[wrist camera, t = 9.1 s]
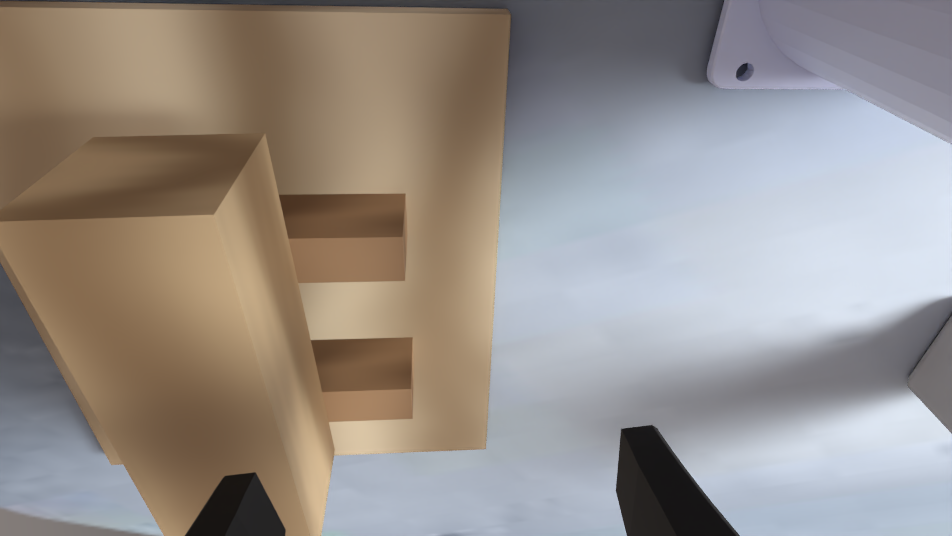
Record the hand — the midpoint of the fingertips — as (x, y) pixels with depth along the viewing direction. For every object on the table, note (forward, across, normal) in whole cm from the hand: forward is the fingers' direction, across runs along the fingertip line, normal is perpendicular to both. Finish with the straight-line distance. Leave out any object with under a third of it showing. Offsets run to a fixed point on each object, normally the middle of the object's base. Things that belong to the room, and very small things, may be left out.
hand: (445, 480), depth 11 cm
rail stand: (+10, +6, +1) cm, 12 cm away
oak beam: (+6, +6, +1) cm, 9 cm away
